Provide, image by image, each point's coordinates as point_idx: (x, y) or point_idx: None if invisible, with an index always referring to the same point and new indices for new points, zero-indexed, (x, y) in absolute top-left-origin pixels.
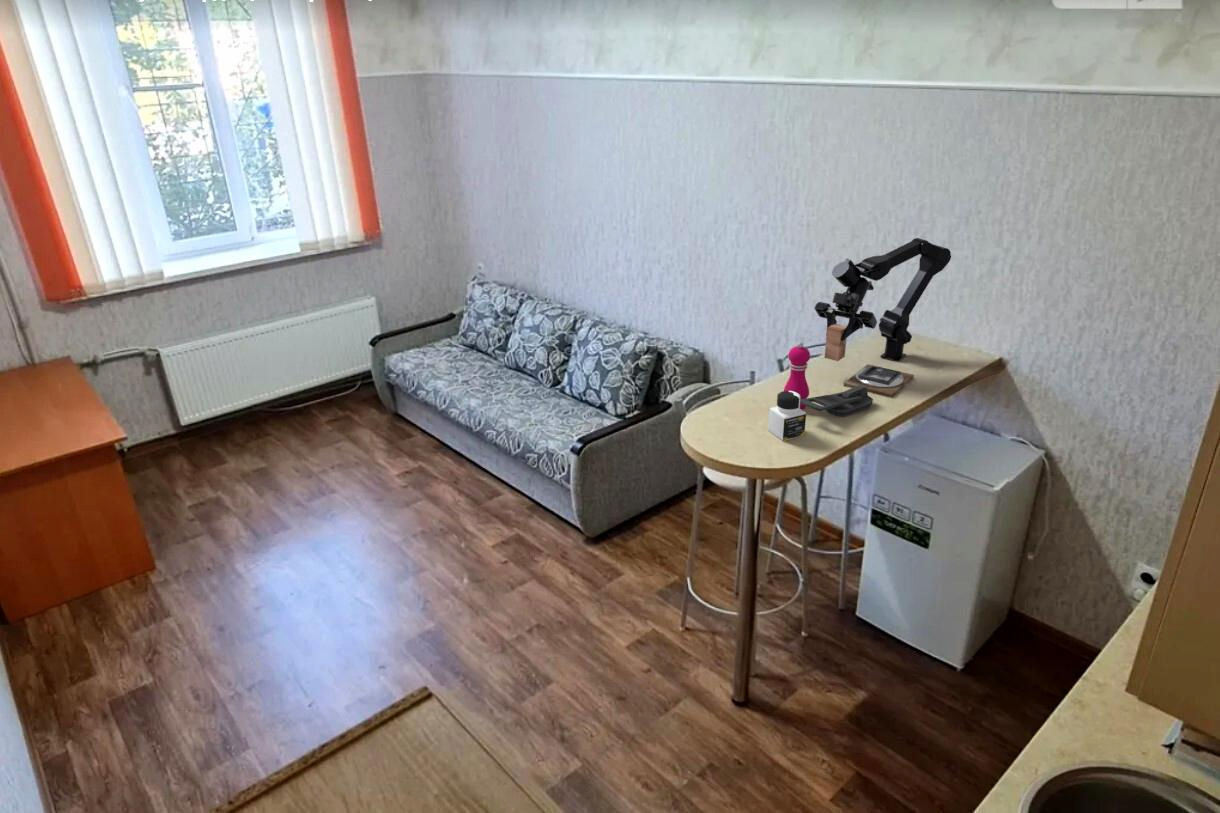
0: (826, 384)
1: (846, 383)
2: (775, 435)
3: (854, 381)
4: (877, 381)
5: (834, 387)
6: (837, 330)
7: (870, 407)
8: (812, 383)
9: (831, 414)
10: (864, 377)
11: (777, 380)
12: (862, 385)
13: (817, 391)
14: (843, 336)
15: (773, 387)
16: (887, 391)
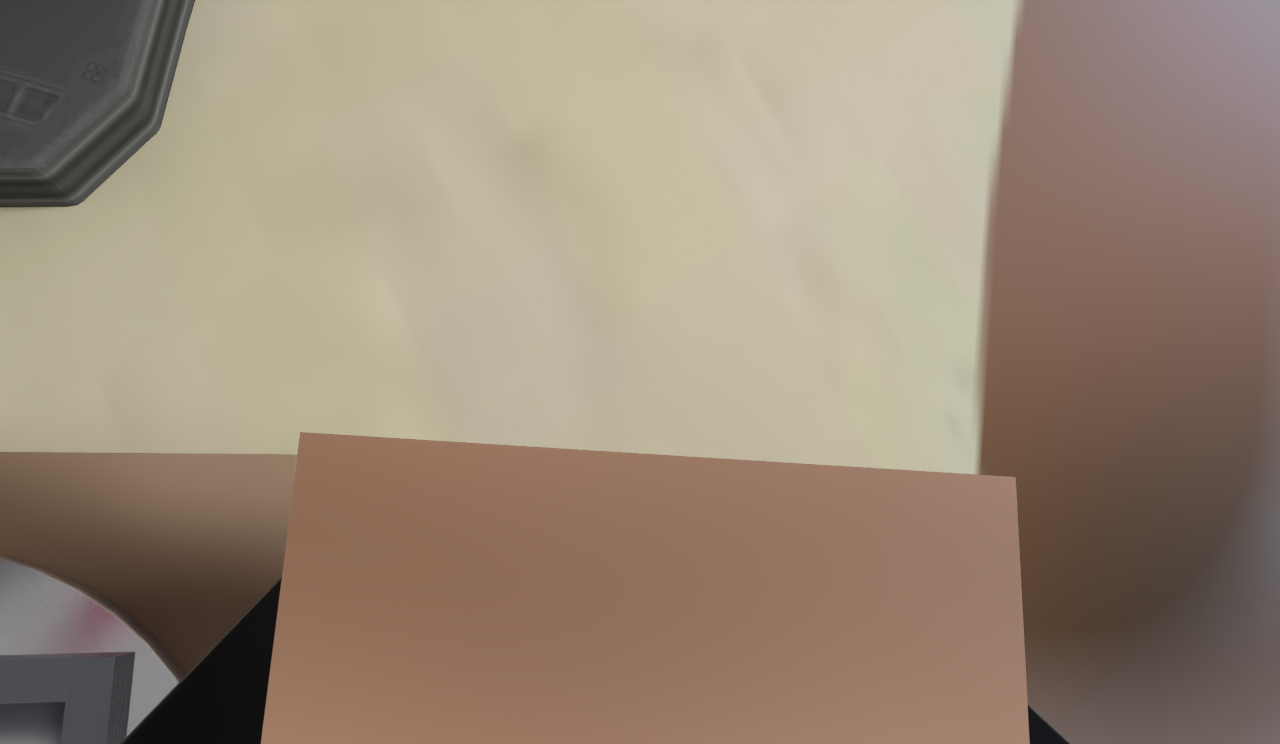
0: (502, 386)
1: (257, 456)
2: None
3: (182, 581)
4: None
5: (385, 357)
6: (484, 445)
7: None
8: (649, 325)
9: None
10: (15, 658)
11: (975, 203)
12: (30, 513)
13: (506, 159)
14: (264, 609)
15: (913, 35)
16: None
